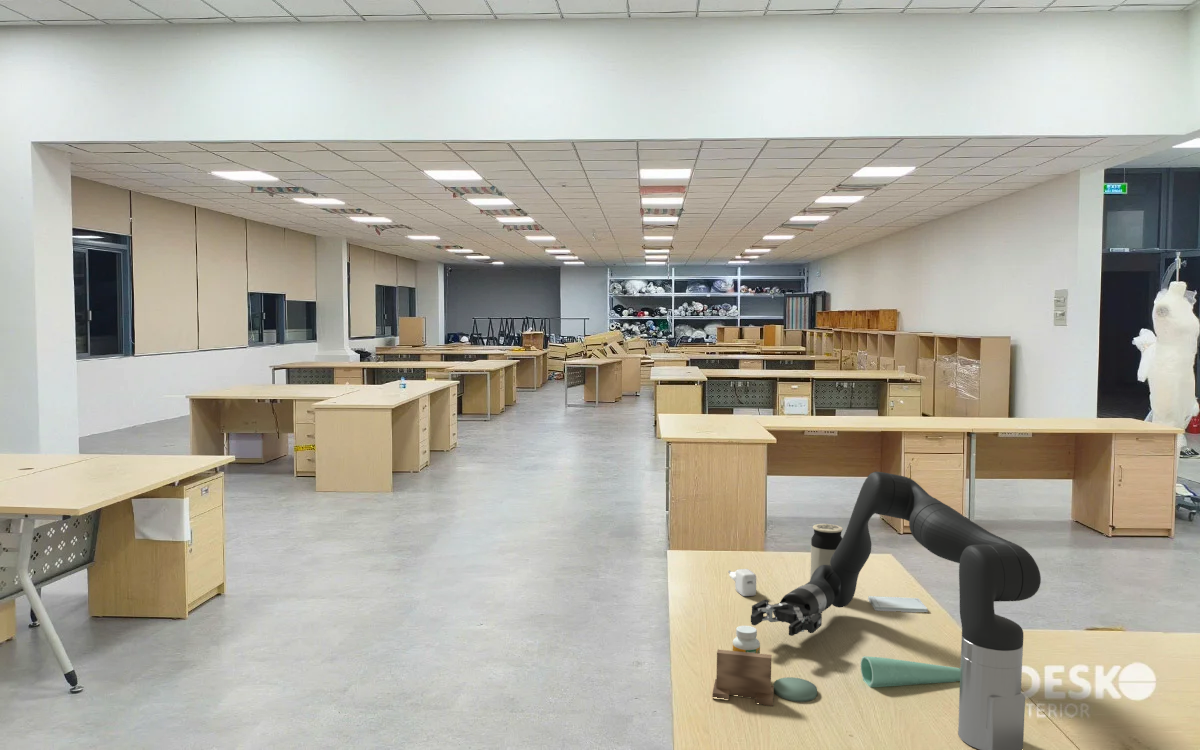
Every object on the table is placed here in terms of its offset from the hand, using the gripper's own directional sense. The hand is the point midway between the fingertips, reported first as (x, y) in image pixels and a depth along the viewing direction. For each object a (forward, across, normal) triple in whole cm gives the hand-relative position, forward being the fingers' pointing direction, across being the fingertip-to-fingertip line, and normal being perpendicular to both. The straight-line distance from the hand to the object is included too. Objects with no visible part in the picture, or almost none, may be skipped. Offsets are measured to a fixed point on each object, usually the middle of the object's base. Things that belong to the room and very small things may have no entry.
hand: (771, 625), depth 166 cm
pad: (+12, +11, +7) cm, 17 cm away
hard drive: (-49, +10, +8) cm, 51 cm away
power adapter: (-35, -25, +8) cm, 44 cm away
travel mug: (-45, -6, +8) cm, 46 cm away
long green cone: (-10, +29, +7) cm, 32 cm away
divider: (+19, +4, +7) cm, 21 cm away
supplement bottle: (+12, 0, +7) cm, 13 cm away
